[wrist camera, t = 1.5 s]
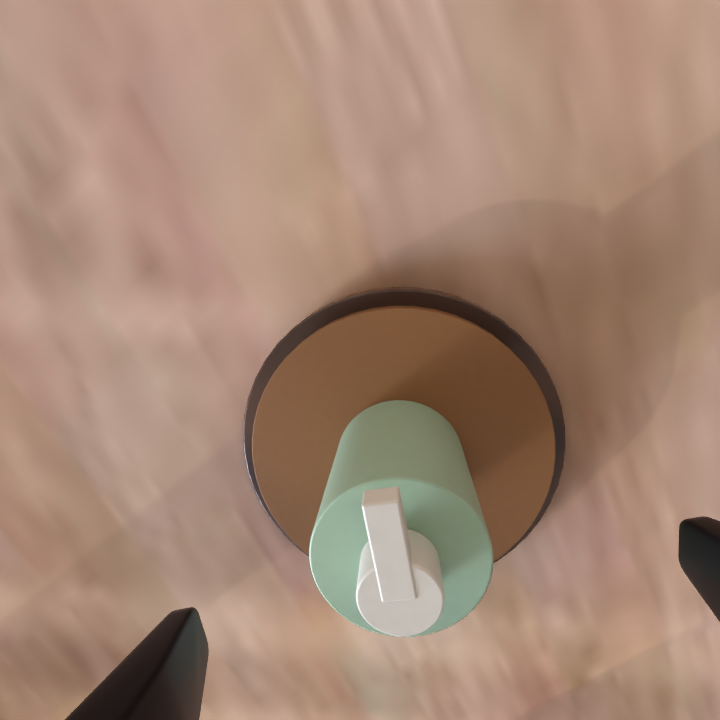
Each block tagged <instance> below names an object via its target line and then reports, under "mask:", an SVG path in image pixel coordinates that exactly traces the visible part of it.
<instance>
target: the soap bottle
mask: <svg viewBox="0 0 720 720" xmlns="http://www.w3.org/2000/svg"><path fill="white" fill-rule="evenodd" d="M252 456H253V465H254V470H255V475H256V479H257V482H258V485H259V488H260V491H261V494H262V497H263V499H264V501H265V503H266V505H267V507H268V509H269V511H270V512H271V514H272V516H273V517H274V519H275V520H276V522H277V523H278V525H279V526H280V527H281V528H282V530H283V531H284V532H285V533H286V534H287V535H288V537H289V538H290V539H291V540H292V541H293V542H294V543H295V544H296V545H297V546H299V547H300V548H301V549H302V550H303V551H304V552H305V553H307V554H308V555H309V561H310V567H311V571H312V574H313V577H314V580H315V583H316V585H317V587H318V589H319V591H320V592H321V594H322V595H323V597H324V598H325V600H326V601H327V602H328V603H329V604H330V605H331V607H332V608H333V609H335V610H336V611H337V612H338V613H339V614H340V615H341V616H343V617H344V618H346V619H347V620H348V621H350V622H352V623H354V624H355V625H357V626H359V627H361V628H364V629H366V630H369V631H372V632H375V633H378V634H383V635H388V636H397V637H415V636H421V635H427V634H431V633H435V632H438V631H440V630H443V629H446V628H448V627H450V626H452V625H453V624H455V623H457V622H458V621H460V620H461V619H463V618H464V617H465V616H467V615H468V614H469V613H470V612H471V611H472V610H473V609H474V608H475V607H476V605H477V604H478V603H479V602H480V600H481V599H482V597H483V595H484V594H485V592H486V590H487V587H488V585H489V582H490V579H491V575H492V571H493V562H494V561H495V560H497V559H498V558H499V557H501V556H502V555H503V554H505V553H506V552H507V551H508V550H510V549H511V548H512V547H513V546H514V545H515V544H516V543H517V542H518V541H519V540H520V539H521V538H522V537H523V535H524V534H525V533H526V532H527V530H528V529H529V528H530V527H531V525H532V524H533V522H534V521H535V519H536V517H537V516H538V514H539V512H540V511H541V509H542V507H543V504H544V502H545V500H546V497H547V495H548V493H549V489H550V485H551V481H552V478H553V474H554V465H555V457H556V450H555V433H554V427H553V422H552V417H551V414H550V411H549V408H548V405H547V402H546V399H545V397H544V395H543V393H542V391H541V389H540V387H539V385H538V383H537V381H536V380H535V378H534V377H533V376H532V374H531V373H530V371H529V370H528V368H527V367H526V366H525V364H524V363H523V362H522V361H521V360H520V359H519V358H518V357H517V356H516V355H515V354H514V353H513V352H512V351H511V350H510V349H509V348H508V347H507V346H506V345H505V344H504V343H502V342H501V341H500V340H499V339H497V338H496V337H495V336H494V335H492V334H491V333H489V332H488V331H486V330H485V329H483V328H481V327H480V326H478V325H476V324H475V323H473V322H470V321H468V320H466V319H463V318H461V317H459V316H456V315H454V314H450V313H447V312H443V311H440V310H436V309H431V308H424V307H417V306H387V307H378V308H371V309H367V310H363V311H359V312H355V313H352V314H349V315H347V316H344V317H342V318H339V319H337V320H334V321H332V322H331V323H329V324H327V325H325V326H324V327H322V328H320V329H318V330H317V331H315V332H314V333H313V334H311V335H310V336H309V337H307V338H306V339H305V340H303V341H302V342H301V343H300V344H299V345H298V346H297V347H296V348H295V349H294V350H293V351H292V352H291V353H290V354H289V355H288V356H287V357H286V358H285V359H284V360H283V362H282V363H281V364H280V365H279V367H278V368H277V369H276V371H275V372H274V373H273V375H272V377H271V379H270V380H269V382H268V384H267V386H266V388H265V389H264V392H263V394H262V397H261V399H260V402H259V404H258V407H257V411H256V416H255V420H254V424H253V435H252Z"/></svg>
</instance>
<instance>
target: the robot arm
mask: <svg viewBox="0 0 720 720" xmlns="http://www.w3.org/2000/svg"><path fill="white" fill-rule="evenodd" d="M678 556H679V562H680V565H681V567H682V569H683V571H684V572H685V574H686V575H687V577H688V578H689V580H690V581H691V582H692V584H693V585H694V587H695V588H696V589H697V591H698V592H699V593H700V595H701V596H702V598H703V599H704V600H705V602H706V603H707V605H708V606H709V607H710V609H711V610H712V612H713V613H714V614H715V616H716V617H717V619H718V620H719V621H720V521H718V520H715V519H712V518H709V517H696V518H690V519H685V520H683V521H682V522H681V524H680V527H679V555H678ZM208 652H209V650H208V642H207V638H206V635H205V632H204V629H203V626H202V623H201V619H200V616H199V613H198V611H197V610H196V609H195V608H193V607H190V608H185V609H179V610H175V611H172V612H171V613H170V614H168V615H167V616H166V617H165V618H164V619H163V620H162V621H161V622H160V623H159V624H158V626H157V627H156V628H155V629H154V630H153V631H152V632H151V633H150V634H149V635H148V636H147V637H146V638H145V639H144V640H143V641H142V642H141V643H140V644H139V645H138V646H137V647H136V648H135V649H134V650H133V651H132V652H131V653H130V654H129V655H128V656H127V657H126V658H125V659H124V660H123V661H122V662H121V663H120V664H119V665H118V666H117V667H116V668H115V669H114V670H113V671H112V672H111V673H110V674H109V675H108V676H107V677H106V678H105V679H104V680H103V681H102V682H101V683H100V684H99V685H98V687H97V688H96V689H95V690H94V691H93V692H92V693H91V694H90V695H89V696H88V697H87V698H86V699H85V700H84V701H83V702H82V703H81V704H80V705H79V706H78V707H77V708H76V709H75V710H74V711H73V712H72V713H71V714H70V715H69V716H68V717H67V718H66V719H65V720H199V717H200V710H201V703H202V696H203V689H204V683H205V676H206V669H207V662H208Z"/></svg>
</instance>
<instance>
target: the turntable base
mask: <svg viewBox="0 0 720 720" xmlns="http://www.w3.org/2000/svg"><path fill="white" fill-rule="evenodd" d="M387 306H417V307H424V308H431V309H436V310H440V311H443V312H447V313H450V314H454V315H456V316H459V317H461V318H463V319H466V320H468V321H470V322H473V323H475V324H476V325H478V326H480V327H481V328H483V329H485V330H486V331H488V332H489V333H491V334H492V335H494V336H495V337H496V338H497V339H499V340H500V341H501V342H502V343H504V344H505V345H506V346H507V347H508V348H509V349H510V350H511V351H512V352H513V353H514V354H515V355H516V356H517V357H518V358H519V359H520V360H521V361H522V362H523V363H524V364H525V366H526V367H527V368H528V370H529V371H530V373H531V374H532V376H533V377H534V378H535V380H536V381H537V383H538V385H539V387H540V389H541V391H542V393H543V395H544V397H545V399H546V402H547V405H548V408H549V411H550V414H551V417H552V422H553V427H554V433H555V450H556V457H555V465H554V474H553V478H552V481H551V485H550V489H549V493H548V495H547V497H546V500H545V502H544V504H543V507H542V509H541V511H540V512H539V514H538V516H537V517H536V519H535V521H534V522H533V524H532V525H531V527H530V528H529V529H528V530H527V532H526V533H525V534H524V535H523V537H522V538H521V539H520V540H519V541H518V542H517V543H516V544H515V545H514V546H513V547H512V548H511V549H510V550H508V551H507V552H506V553H505V554H503V555H502V556H501V557H499V558H498V559H497V560H495V561H494V562H496V561H498V560H499V559H501V558H502V557H503V556H505V555H506V554H507V553H509V552H510V551H511V550H513V549H514V548H515V547H516V546H517V545H518V544H519V543H520V542H521V541H522V540H523V539H525V538H526V537H527V536H528V534H529V533H530V532H531V531H532V529H533V528H534V527H535V526H536V525H537V523H538V522H539V521H540V519H541V518H542V516H543V514H544V513H545V511H546V509H547V508H548V506H549V504H550V502H551V500H552V498H553V495H554V493H555V491H556V488H557V486H558V482H559V479H560V475H561V471H562V468H563V461H564V453H565V425H564V419H563V413H562V408H561V404H560V401H559V398H558V395H557V392H556V389H555V386H554V384H553V382H552V380H551V378H550V376H549V374H548V372H547V370H546V368H545V366H544V365H543V364H542V362H541V361H540V359H539V358H538V356H537V355H536V353H535V352H534V351H533V349H532V348H531V347H530V346H529V345H528V344H527V343H526V342H525V341H524V340H523V339H522V337H521V336H520V335H519V334H518V333H517V332H515V331H514V330H513V329H512V328H510V327H509V326H508V325H507V324H505V323H504V322H503V321H502V320H501V319H499V318H498V317H496V316H495V315H493V314H491V313H490V312H488V311H486V310H485V309H483V308H482V307H480V306H478V305H476V304H474V303H471V302H469V301H467V300H464V299H462V298H460V297H457V296H454V295H450V294H447V293H443V292H440V291H435V290H428V289H422V288H409V287H391V288H383V289H374V290H369V291H365V292H361V293H357V294H353V295H350V296H347V297H345V298H342V299H340V300H337V301H335V302H332V303H330V304H328V305H327V306H325V307H323V308H321V309H319V310H318V311H316V312H314V313H312V314H311V315H310V316H309V317H307V318H306V319H305V320H303V321H302V322H301V323H299V324H298V325H297V326H295V327H294V328H293V329H292V330H291V331H290V332H289V333H288V334H287V335H286V336H285V337H284V338H283V339H282V340H281V341H280V342H279V343H278V344H277V345H276V347H275V348H274V349H273V351H272V352H271V353H270V355H269V356H268V357H267V359H266V360H265V362H264V364H263V365H262V367H261V369H260V371H259V373H258V375H257V376H256V379H255V381H254V384H253V387H252V389H251V392H250V394H249V398H248V402H247V407H246V411H245V418H244V430H243V439H244V454H245V459H246V464H247V469H248V473H249V476H250V479H251V482H252V485H253V488H254V490H255V492H256V494H257V497H258V499H259V501H260V503H261V505H262V507H263V508H264V510H265V511H266V513H267V514H268V516H269V517H270V519H271V520H272V522H273V523H274V524H275V525H276V526H277V528H278V529H279V530H280V531H281V532H282V533H283V535H284V536H285V537H286V538H287V539H288V540H290V541H291V542H292V543H293V544H294V545H295V546H296V547H297V548H298V549H299V550H301V551H302V552H304V551H303V550H302V549H301V548H300V547H299V546H297V545H296V544H295V543H294V542H293V541H292V540H291V539H290V538H289V537H288V535H287V534H286V533H285V532H284V531H283V530H282V528H281V527H280V526H279V525H278V523H277V522H276V520H275V519H274V517H273V516H272V514H271V512H270V511H269V509H268V507H267V505H266V503H265V501H264V499H263V497H262V494H261V491H260V488H259V485H258V482H257V479H256V475H255V470H254V465H253V456H252V435H253V424H254V420H255V416H256V411H257V407H258V404H259V402H260V399H261V397H262V394H263V392H264V389H265V388H266V386H267V384H268V382H269V380H270V379H271V377H272V375H273V373H274V372H275V371H276V369H277V368H278V367H279V365H280V364H281V363H282V362H283V360H284V359H285V358H286V357H287V356H288V355H289V354H290V353H291V352H292V351H293V350H294V349H295V348H296V347H297V346H298V345H299V344H300V343H301V342H302V341H303V340H305V339H306V338H307V337H309V336H310V335H311V334H313V333H314V332H315V331H317V330H318V329H320V328H322V327H324V326H325V325H327V324H329V323H331V322H332V321H334V320H337V319H339V318H342V317H344V316H347V315H349V314H352V313H355V312H359V311H363V310H367V309H371V308H378V307H387ZM304 553H305V552H304ZM305 554H306V555H308V554H307V553H305ZM308 556H309V555H308ZM494 562H493V563H494Z"/></svg>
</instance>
